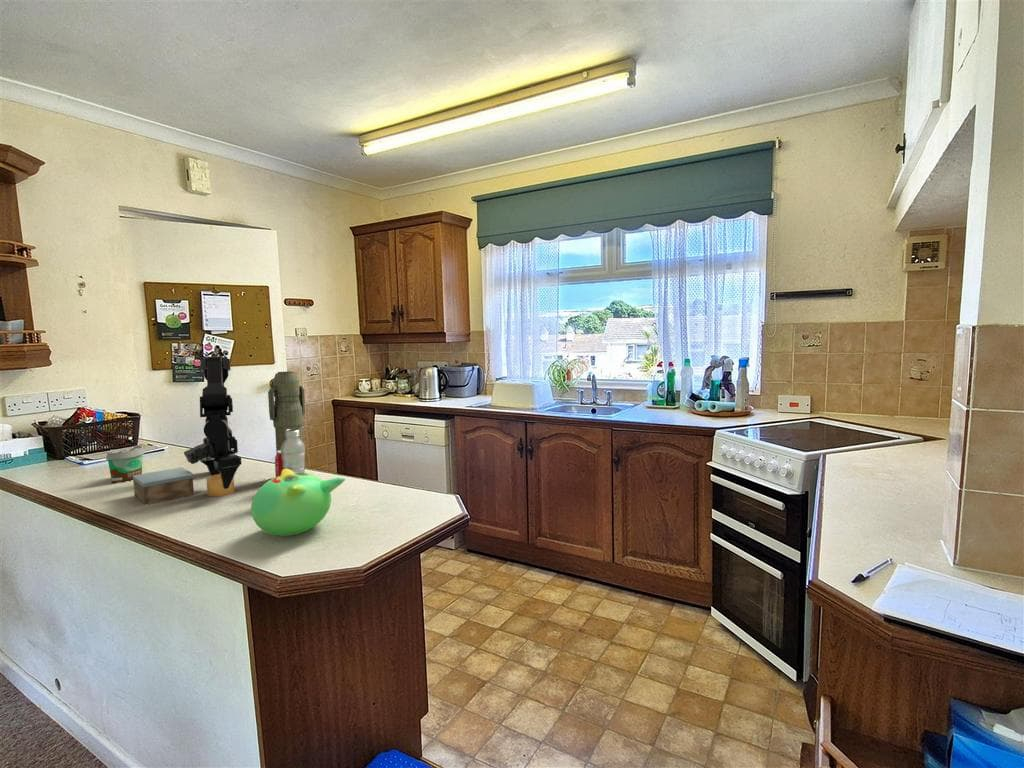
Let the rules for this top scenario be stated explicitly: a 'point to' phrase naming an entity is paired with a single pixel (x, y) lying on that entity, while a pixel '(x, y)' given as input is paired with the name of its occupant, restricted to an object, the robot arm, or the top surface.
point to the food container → (125, 464)
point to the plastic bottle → (293, 451)
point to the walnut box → (163, 491)
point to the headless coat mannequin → (286, 406)
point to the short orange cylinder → (218, 486)
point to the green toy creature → (292, 502)
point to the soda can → (278, 463)
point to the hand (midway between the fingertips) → (220, 485)
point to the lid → (163, 477)
